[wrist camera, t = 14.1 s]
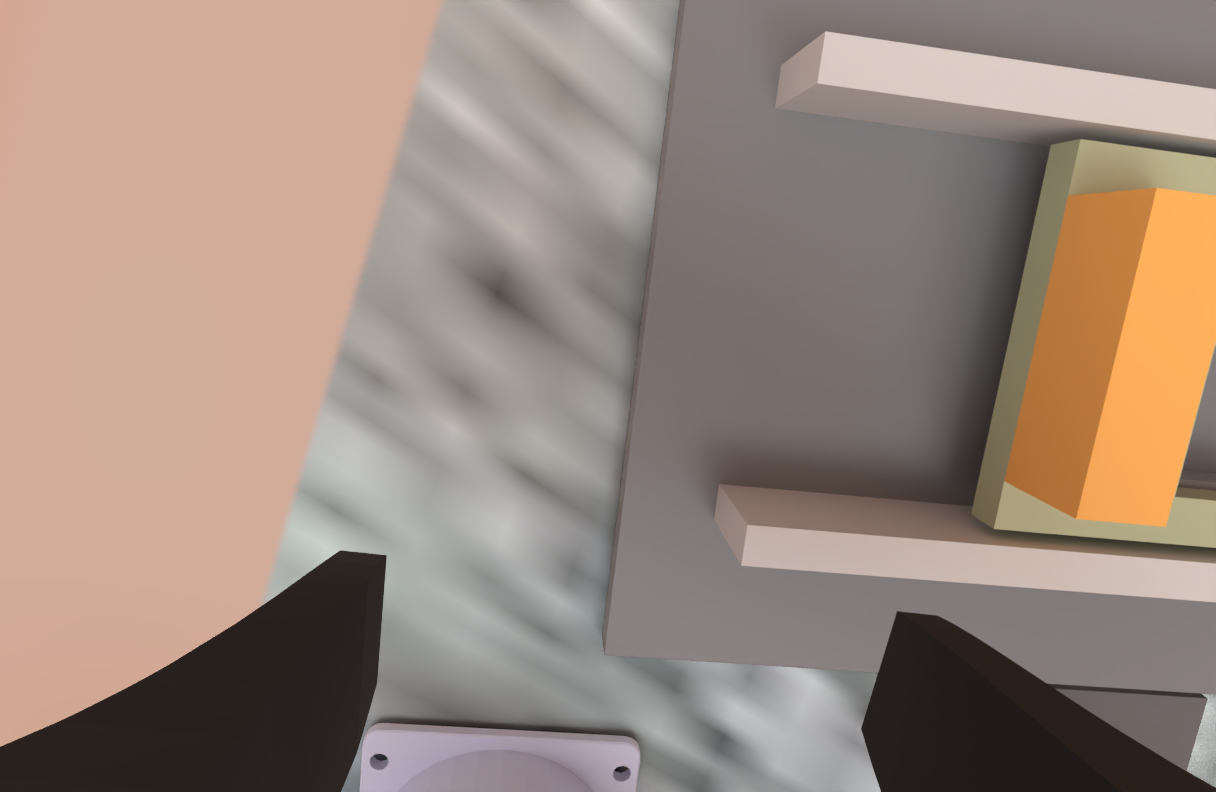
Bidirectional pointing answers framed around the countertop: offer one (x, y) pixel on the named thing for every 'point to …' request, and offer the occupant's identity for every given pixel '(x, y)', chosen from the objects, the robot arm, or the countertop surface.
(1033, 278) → the plate
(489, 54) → the countertop surface
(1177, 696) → the rubber pad
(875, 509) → the socket board
